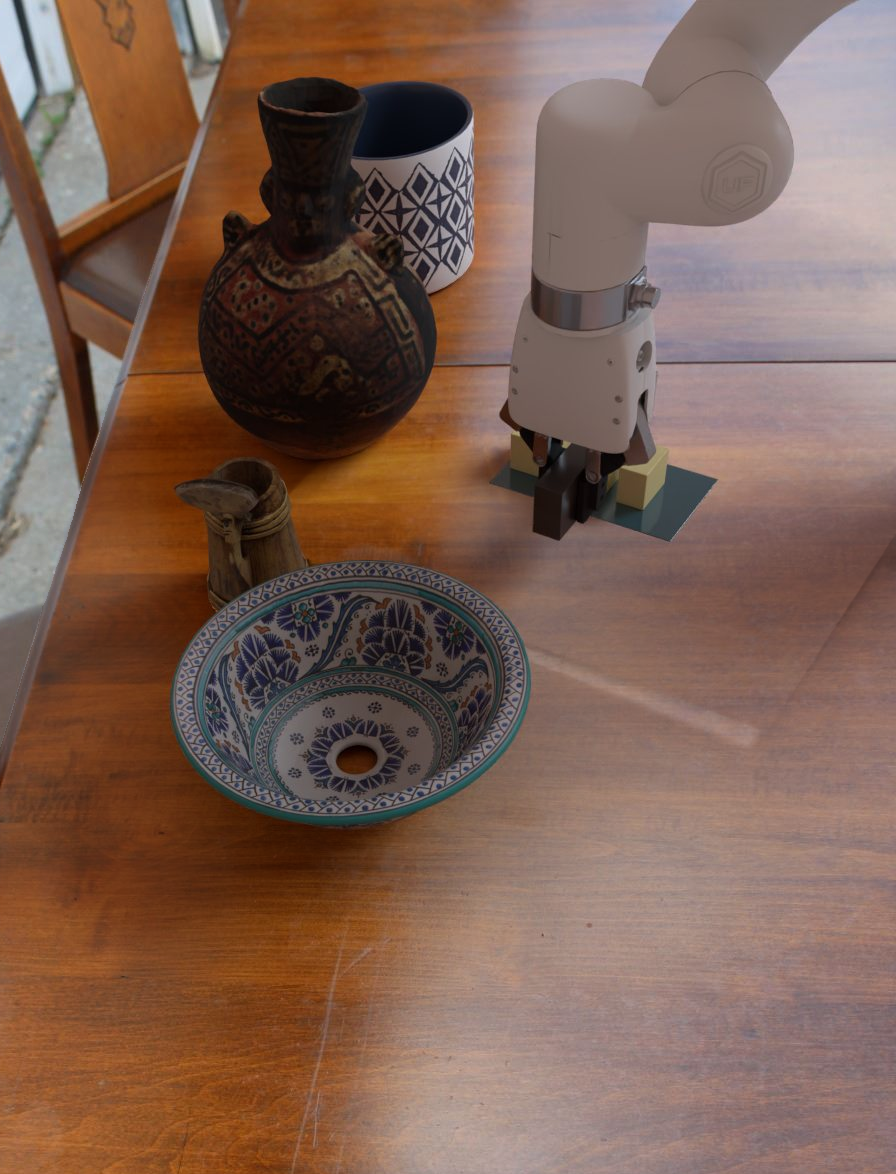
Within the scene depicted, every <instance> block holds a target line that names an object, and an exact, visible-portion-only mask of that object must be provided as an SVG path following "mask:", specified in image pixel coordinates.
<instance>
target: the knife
mask: <svg viewBox="0 0 896 1174" xmlns="http://www.w3.org/2000/svg"><path fill="white" fill-rule="evenodd" d="M658 376H659V371H657V370H656V381H655V395H656V393H657V384H658ZM655 400H656V398H655V399H654V403H655ZM654 409H655V408H654ZM654 409H653V411H654ZM585 458H586V447H583V446H580V445H577V444H573V443H571V444H570V445H569V446H568V447H567V448H566V450H565V451H564V452H563V453H562V454H561V455H560V456H559V458H558V459H557V460H556V461H555V462H554V463H553V464H552V466H551V467H550V468H549V469H548V470H547V471H546V472H545V474H544V475H543V476H542V477H541V478H540V479H539V480H538V481H537V483H536V484H535V485H534V497H533V509H532V512H533V513H532V533H534V534H537V535H540V536H543V537H545V538H548V539H551V540H555V541H558V542H560V541H561V540H562V539H563V537H564V536H565V535H566V534H567V533H568V532H569V530H570V529H571V528H572V527H573V525H574V524H575V523H577V520H576V519H575V518H576V505H577V491H578V483H579V480H580V479H581V478H582V477H583V476H584V474H585ZM607 484H608V480H607Z"/></svg>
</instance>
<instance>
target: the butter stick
mask: <svg viewBox="0 0 896 1174" xmlns="http://www.w3.org/2000/svg"><path fill="white" fill-rule="evenodd" d="M570 444H571V443H570V442H567V441H563V445H562V447H563V448H567V447H568V446H569V445H570ZM509 457H510V458H509V460H510V468H512V469H515V470H518V471H521V472H525V473H528V474H531V475H534V476H537V477H538V474H539V467H538V466H537V465H535V464H534V462H533V458H532V457H533V452H532V451H531V450H530V448H529V447H528V446H527V444H526V443H525V442H524V440H523V439H522V438H521V436H520V432H519V431H517V432H516V431H515V430H514V429H513V431H512V432H511V433H510V456H509ZM618 478H619V469H617V470H616V471H614V472H612V473H610V474H609V475H608V484H607V491H606V493H607V492H608V491H609V489H610V488H611V487H612V486H613V485H614V483H615V482H616V481H617V480H618Z"/></svg>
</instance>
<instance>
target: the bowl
mask: <svg viewBox="0 0 896 1174" xmlns="http://www.w3.org/2000/svg"><path fill="white" fill-rule="evenodd" d="M531 673H532V672H531V666H530V661H529V656H528V653H527V650H526V647H525V643H524V641H523V639H522V637H521V635H520V633H519V632H518V630H517V629H516V627H515V625H514V623H513V621H511V620H510V618H509V617H508V616H507V615H506V614H505V612H504V611H503V610H502V609H501V608H500V607H499V606H498V605H497V604H495V602H494V601H493V600H491V599H490V598H489V597H487V596H486V595H485V594H484V593H482V592H480V591H479V590H478V589H476V588H474V587H472V586H471V585H469V584H467V583H466V582H464V581H461V580H460V579H457V578H456V577H453V576H451V575H448V574H446V573H443V572H441V571H437V570H434V569H431V568H428V567H425V566H420V565H416V564H413V563H405V562H400V561H390V560H381V559H379V560H378V559H357V560H353V559H352V560H341V561H333V562H332V561H331V562H327V563H321V564H314V565H310V566H308V567H306V568H302V569H298V570H295V571H292V572H289V573H285V574H283V575H280V576H278V577H275V578H272V579H270V580H268V581H266V582H263V583H261V584H259V585H257V586H255V587H253V588H251V589H250V590H248V591H246V592H244V593H243V594H241V595H239V596H238V597H236V598H235V599H233V600H232V601H230V602H229V603H228V604H227V605H225V606H224V607H223V608H221V609H220V610H219V611H218V612H215V613H214V614H213V615H212V616H211V617H210V618H209V619H207V621H206V622H204V624H203V625H202V626H201V627H200V628H199V629H198V631H197V632H196V633H195V634H194V636H193V637H192V639H190V641H189V643H188V644H187V645H186V647H185V648H184V651H183V652H182V654H181V656H180V658H179V661H178V663H177V665H176V668H175V671H174V674H173V676H172V681H171V686H170V694H169V711H170V712H169V713H170V721H171V725H172V730H173V733H174V736H175V739H176V741H177V744H178V746H179V748H180V749H181V751H182V753H183V755H184V757H185V758H186V760H187V762H188V763H189V764H190V765H191V767H192V769H193V770H194V771H195V772H196V773H197V774H198V775H199V776H200V777H201V779H203V780H204V781H205V782H206V783H207V784H209V785H210V786H211V787H212V788H213V789H214V790H215V791H217V792H218V793H220V794H222V795H223V796H224V797H226V798H227V799H229V800H231V801H233V802H235V803H236V804H238V805H240V806H243V807H244V808H246V809H249V810H251V811H254V812H256V813H259V814H262V815H265V816H268V817H271V818H275V819H278V820H281V821H282V820H284V821H287V822H292V823H297V824H298V823H299V824H306V825H309V826H313V827H316V828H317V827H318V828H324V829H330V830H360V829H361V830H363V829H370V828H375V827H381V826H385V825H388V824H391V823H395V822H397V821H400V820H403V819H405V818H407V817H410V816H412V815H414V814H416V813H418V812H420V811H422V810H425V809H427V808H429V807H432V806H434V805H437V804H439V803H441V802H444V801H445V800H447V799H449V798H450V797H452V796H454V795H456V794H457V793H459V792H461V791H462V790H464V789H466V788H467V787H469V786H470V785H471V784H472V783H474V782H475V781H476V780H478V779H479V778H481V777H482V776H483V775H484V774H485V773H486V772H487V771H488V770H489V769H491V768H492V767H493V766H494V765H495V764H496V763H497V761H499V760H500V758H501V757H502V756H503V755H504V753H505V752H506V751H507V750H508V748H509V747H510V745H511V744H512V742H513V741H514V739H515V738H516V736H517V734H518V732H519V730H520V728H521V726H522V725H523V722H524V719H525V716H526V713H527V711H528V706H529V702H530V698H531V688H532V676H531V675H532V674H531ZM353 746H364V747H367V748H370V749H371V750H372V751H374V752H375V754H376V756H377V761H376V763H375V765H374V766H373V768H371V769H370V770H368V771H366V772H362V773H358V774H352V773H347V772H344V771H343V770H342V769H340V768H339V766H338V764H337V759H338V756H339V755H340V754H341V752H342V751H344V750H345V749H347V748H350V747H353Z"/></svg>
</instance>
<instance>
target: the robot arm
mask: <svg viewBox="0 0 896 1174" xmlns="http://www.w3.org/2000/svg"><path fill="white" fill-rule="evenodd" d="M856 2H859V0H695V1H694V2H693V3H692V5H691V6H690V7H689V9H688V10H687V11H686V12H685V13H684V15H683V16H682V17H681V19H680V20H679V21H678V22H677V23H676V25H674V27H673V29H672V30H671V32H670V33H669V34H668V35H667V36H666V38H665V40H664V41H663V43H662V44H661V46H660V47H659V49H658V50H657V52H656V53H655V55H654V57H653V59H652V61H651V63H650V64H649V66H648V68H647V70H646V72H645V75H644V79H643V81H642V84H641V85H639V84H637V83H635V82H632V81H629V80H625V79H619V78H611V77H610V78H603V77H601V78H590V79H585V80H580V81H577V82H573V83H570V84H568V85H566V86H564V87H561V88H560V89H558V90H557V91H556V92H554V93H553V94H552V95H551V96H550V97H548V99H547V100H546V102H545V103H544V105H543V106H542V108H541V111H540V112H539V115H538V119H537V123H536V133H535V151H534V152H535V154H534V157H535V158H534V185H533V210H532V238H531V239H532V240H531V242H532V243H531V271H530V273H531V274H530V291H529V292H528V293H527V295H526V296H525V298H524V299H523V302H522V305H521V309H520V312H519V316H518V320H517V324H516V329H515V334H514V337H513V344H512V349H511V357H510V363H509V375H508V386H507V387H508V388H507V389H508V390H507V398H506V400H505V402H504V404H503V405H502V407H501V409H500V410H499V413H498V417H499V419H500V420H501V421H502V422H503V423H505V424H506V425H507V426H508V427H510V428H511V429H512V430H513V431H514V430H515V431H516V432H517V431H519V432H520V436H521V438H522V439H523V440H524V442H525V443H526V444H527V446H528V447H529V448H530V450H531V451H532V452H533V457H532V458H533V462H534V464H535V465H537V466H538V467H539V474H538V480H539V479H540V478H541V477H542V476H543V475H544V474H545V472H546V471H547V470H548V469H549V468H550V467H551V466H552V464H553V463H554V462H555V461H556V460H557V459H558V458H559V456H560V455H561V454H562V453H563V452H564V451H565V450H566V448H563V447H562V445H563V441H567V442H570V443H573V444H577V445H580V446H583V447H586V458H585V474H584V476H583V477H582V478H581V479H580V480H579V483H578V491H577V505H576V518H575V519H576V520H577V521H576V523H578V524H581V525H584V524H586V522H587V521H588V520H589V518H590V517H592V516H591V515H592V514H593V512H594V511H597V512H598V511H599V510H600V509H601V508H602V506H603V504H604V502H605V499H606V491H607V480H608V475H609V474H610V473H612V472H614V471H616V470H617V469H619V468H621V467H622V466H625V465H628V466H633V465H641V464H646V463H648V462H649V460H650V459H651V458H652V457H653V456H654V454H655V453H656V447H655V445H656V444H655V441H654V438H653V435H652V431H651V429H650V426H649V424H650V423H651V421H652V419H653V414H654V410H653V409H655V402H654V399H655V400H656V394H655V381H656V371H657V348H656V347H657V345H656V343H657V342H656V331H655V321H654V313H653V310H654V309H656V307H657V306H658V304H659V301H660V298H661V295H662V294H661V293H662V292H661V291H662V289H661V288H660V287H657V286H654V285H653V286H652V283H650V282H648V280H647V272H648V266H647V265H645V264H646V254H647V246H648V235H649V228H650V223H651V224H666V225H678V226H688V227H689V226H691V227H703V228H704V227H708V228H709V227H712V228H713V227H715V228H716V227H717V228H718V227H726V226H731V225H732V226H733V225H736V224H740V223H744V222H747V221H749V220H751V219H753V218H755V217H756V216H758V215H760V214H762V213H763V212H765V211H766V210H767V209H769V208H770V207H771V206H772V205H773V204H774V203H775V202H776V201H777V200H778V198H779V197H780V196H781V195H782V193H783V192H784V190H785V188H786V187H787V185H788V183H789V180H790V178H791V175H792V173H793V168H794V161H795V145H794V139H793V136H792V133H791V128H790V126H789V124H788V122H787V119H786V118H785V116H784V114H783V111H782V110H781V109H780V107H779V105H778V103H777V101H776V100H775V98H774V96H773V93H772V91H771V89H770V87H769V85H768V84H767V81H768V80H769V79H770V77H771V76H772V75H773V74H774V73H775V72H776V71H777V69H778V68H779V67H780V66H781V65H782V64H783V62H785V61H786V59H788V57H789V56H790V55H791V54H792V53H793V52H794V51H795V49H797V48H798V46H799V45H801V43H802V42H803V41H804V40H805V39H806V38H808V36H810V35H811V34H812V33H813V32H814V31H816V29H818V27H819V26H821V25H822V24H824V23H825V22H826V21H827V20H828V19H829V20H830V18H831V17H833V16H834V15H835V14H837V13H839V12H840V11H842V10H843V9H845V8H847V7H848V6H850V5H852V4H855V3H856Z"/></svg>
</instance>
